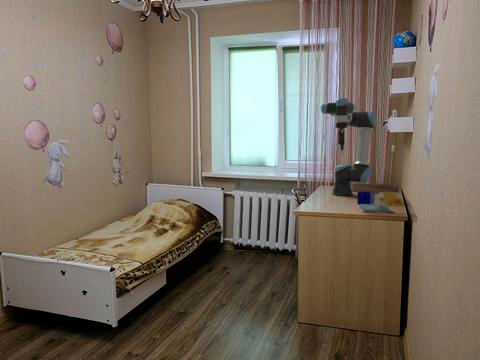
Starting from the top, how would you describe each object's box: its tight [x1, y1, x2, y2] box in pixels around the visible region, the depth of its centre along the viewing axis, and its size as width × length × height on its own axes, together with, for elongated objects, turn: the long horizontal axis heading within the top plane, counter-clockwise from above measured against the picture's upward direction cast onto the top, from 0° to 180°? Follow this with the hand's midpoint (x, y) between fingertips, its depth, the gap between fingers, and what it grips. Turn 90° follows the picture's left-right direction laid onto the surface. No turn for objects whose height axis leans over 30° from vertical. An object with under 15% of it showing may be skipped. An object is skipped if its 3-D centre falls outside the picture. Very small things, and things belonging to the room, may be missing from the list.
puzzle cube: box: [356, 192, 371, 205], centre depth 277 cm, size 10×10×10 cm
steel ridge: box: [370, 192, 381, 210], centre depth 258 cm, size 18×3×10 cm, turn 170°
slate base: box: [359, 203, 391, 214], centre depth 259 cm, size 18×16×2 cm
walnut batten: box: [351, 182, 400, 193], centre depth 257 cm, size 4×28×5 cm, turn 80°
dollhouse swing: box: [382, 192, 404, 207], centre depth 274 cm, size 10×10×9 cm
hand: (340, 154), depth 271 cm, fingers open, 13 cm apart
